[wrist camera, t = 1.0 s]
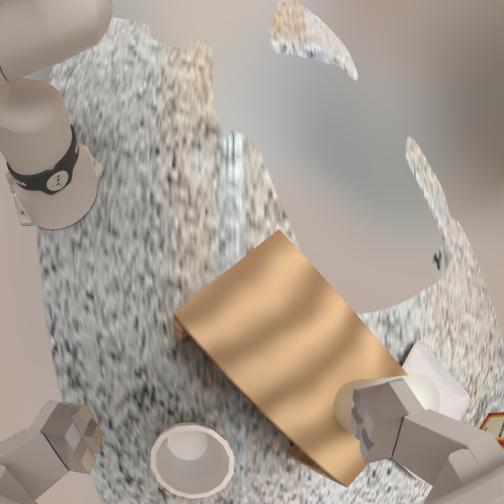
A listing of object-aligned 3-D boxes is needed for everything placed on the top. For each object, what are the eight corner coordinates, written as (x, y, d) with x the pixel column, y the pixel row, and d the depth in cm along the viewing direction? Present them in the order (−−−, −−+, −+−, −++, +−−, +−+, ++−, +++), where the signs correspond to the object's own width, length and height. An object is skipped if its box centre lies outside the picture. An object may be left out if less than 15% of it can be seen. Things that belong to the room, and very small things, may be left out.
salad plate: (348, 429, 47) (359, 431, 44) (408, 339, 56) (419, 336, 53) (412, 480, 45) (423, 483, 42) (460, 397, 54) (471, 396, 51)
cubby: (173, 336, 47) (173, 313, 31) (245, 277, 53) (278, 229, 37) (291, 457, 43) (347, 487, 27) (351, 392, 49) (421, 391, 33)
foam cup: (199, 479, 39) (209, 510, 27) (145, 450, 39) (136, 474, 27) (229, 430, 43) (249, 447, 31) (175, 400, 43) (176, 409, 31)
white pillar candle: (322, 408, 30) (376, 415, 21) (356, 368, 33) (415, 360, 24) (355, 441, 29) (414, 454, 20) (387, 402, 32) (448, 401, 23)
